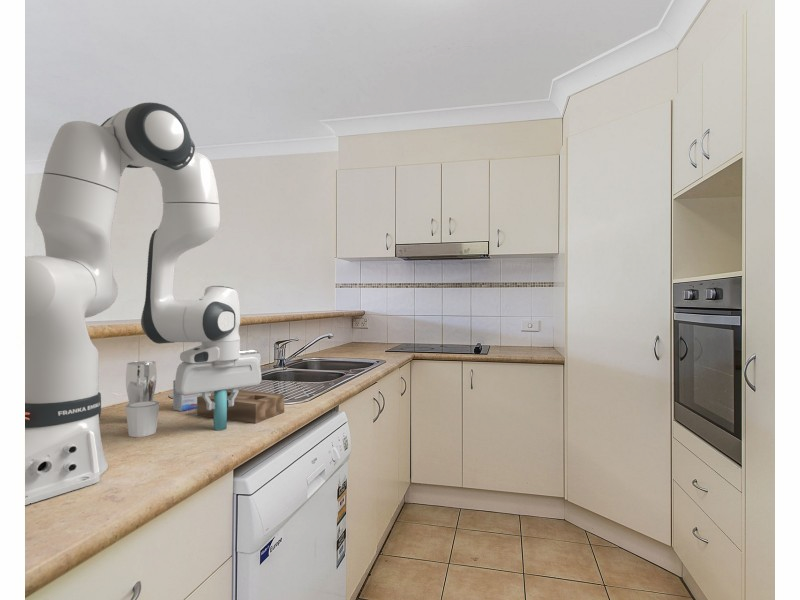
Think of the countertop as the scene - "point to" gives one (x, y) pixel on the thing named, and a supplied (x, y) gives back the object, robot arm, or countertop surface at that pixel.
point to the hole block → (247, 406)
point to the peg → (220, 410)
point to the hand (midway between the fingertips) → (220, 407)
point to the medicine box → (184, 400)
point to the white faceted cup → (142, 418)
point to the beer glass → (141, 381)
